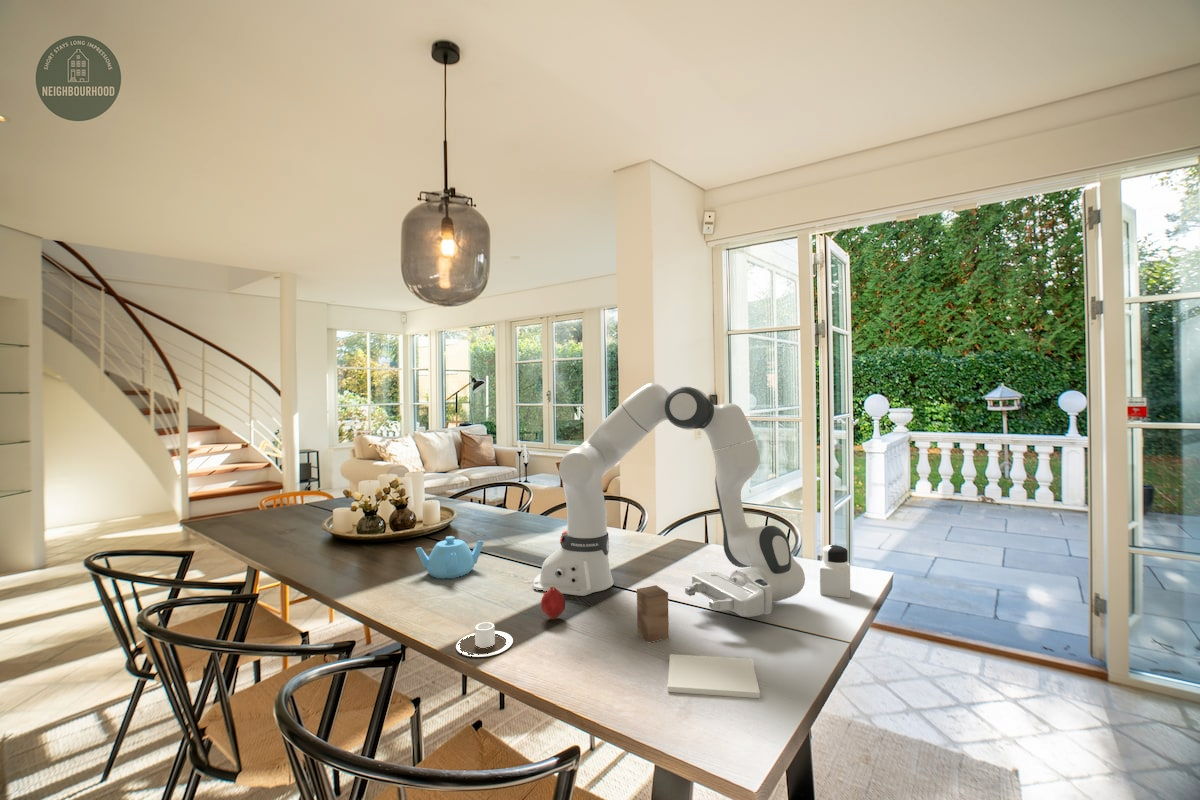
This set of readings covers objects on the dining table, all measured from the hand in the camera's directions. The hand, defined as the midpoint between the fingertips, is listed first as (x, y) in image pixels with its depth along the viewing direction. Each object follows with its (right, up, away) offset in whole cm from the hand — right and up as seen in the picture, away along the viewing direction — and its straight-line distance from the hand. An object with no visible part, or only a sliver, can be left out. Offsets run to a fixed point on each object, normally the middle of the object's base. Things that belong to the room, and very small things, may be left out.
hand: (698, 598), depth 125 cm
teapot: (-68, -7, +40) cm, 79 cm away
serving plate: (-2, -7, -23) cm, 24 cm away
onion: (-34, -7, +5) cm, 35 cm away
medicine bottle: (+39, -5, +18) cm, 44 cm away
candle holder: (-47, -8, -8) cm, 49 cm away
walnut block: (-11, -6, -5) cm, 14 cm away
